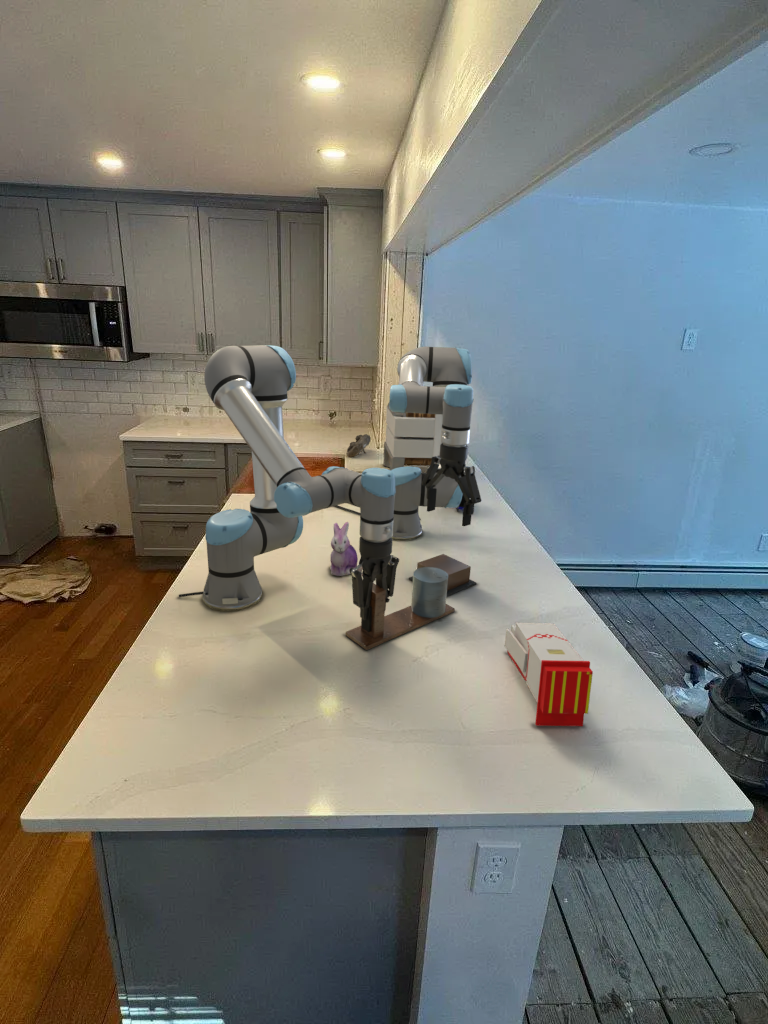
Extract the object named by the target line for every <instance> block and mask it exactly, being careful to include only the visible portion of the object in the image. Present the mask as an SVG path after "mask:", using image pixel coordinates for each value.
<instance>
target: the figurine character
mask: <svg viewBox="0 0 768 1024" xmlns="http://www.w3.org/2000/svg"><path fill="white" fill-rule="evenodd" d="M464 503H467V502H466V500H465V498H464V496H463V495H462V499H461V502H460V504H459V506H458V507H456V511H457V512H460V510H463V508H464Z"/></svg>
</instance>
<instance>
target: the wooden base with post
mask: <svg viewBox="0 0 768 1024" xmlns="http://www.w3.org/2000/svg"><path fill="white" fill-rule="evenodd" d="M412 576H413V581H412V586H411V598H410V599H411V601H410V605H408V606H406V607H404V608H402V609H399V610H396V611H394V612H391V613H389V614H387V615H386V614H385V613H386V610H385V595H386V590H384V589H383V588H381V587H379V586H378V585H376V583H374V582H373V587H372V594H371V600H370V606H371V607H372V623H371V632H367V631H366V630H365V629H363V628H362V618H361V617H360V619H361V620H360V626H357V627H354V628H352V629H349V630H347V631H345V636H346V637H347V638H349V639H350V640H351V641H352V642H354V643H355V644H357V645H358V646H359V647H361V648H362V649H364V650H365V651H368V650H371V649H372V648H374V647H377V646H380V645H382V644H384V643H386V642H388V641H390V640H393V639H395V638H398V637H400V636H403V635H404V634H406V633H407V634H408V633H410V632H411V631H413V630H416V629H418V628H421V627H423V626H425V625H427V624H430V623H432V622H434V621H437V620H439V619H441V618H443V617H446V616H447V615H451V614H453V613H454V612H455V607H453V606H452V605H449V604H448V603H447V597H448V596H447V585H448V574H447V573H446V572H445V571H443V570H441V569H438V568H433V567H423V568H419V569H417V568H416V569H415V570H413V573H412ZM446 596H447V597H446Z"/></svg>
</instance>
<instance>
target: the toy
mask: <svg viewBox="0 0 768 1024" xmlns="http://www.w3.org/2000/svg"><path fill="white" fill-rule="evenodd" d="M503 645H504V647H505V649H506V650H507V655H508V656H509V658H510V659H511V662H513V664H514V666H515V667H516V669H517V670H518V672H519V673H520V675H521V676H522V679H523V680H524V681H525V683H526V686H527V687H528V689H529V690H530V693H531V694H532V696H533V698H534V700H535V701H536V703H537V704H536V714H535V722H534V723H535V726H537V727H541V726H542V727H583V726H584V719H585V715H586V714H587V715H588V714H589V706H590V705H589V704H590V699H591V691H592V683H593V682H592V681H593V674H594V673H593V672H594V671H593V670H592V669H591V668H590V667H591V661H590V660H584V659H583V658H582V657H581V655H580V654H579V653H578V651H577V650H576V649H575V648H574V647H573V645H572V644H571V643H570V642H569V640H568V639H567V638H566V636H564V633H562V632H561V630H560V629H559V628H558V627H557V625H556V624H555V623H553V622H515V624H511V625H510V628H506V630H505V638H504V644H503Z"/></svg>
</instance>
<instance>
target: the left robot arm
mask: <svg viewBox="0 0 768 1024" xmlns="http://www.w3.org/2000/svg"><path fill="white" fill-rule="evenodd" d="M203 375H204V379H203V380H204V386H205V389H206V392H207V394H208V396H209V398H210V400H211V401H212V404H214V406H215V408H217V409H218V410H220V411H224V412H225V414H226V416H227V418H228V419H229V420H230V422H231V423H232V424H233V426H234V427H235V429H236V430H237V432H238V433H239V435H240V436H241V438H242V439H243V440H244V442H245V444H246V445H247V446H248V448H249V449H250V451H251V462H252V474H253V475H252V476H253V487H254V488H253V489H254V497H253V498H252V499H251V500H250V501H249V510H248V509H244V508H233V509H230V508H229V509H225V510H222V511H219V512H216V513H215V514H213V515H211V516H210V517H209V519H208V520H207V521H206V524H205V535H204V536H205V543H206V556H207V569H208V574H207V577H206V580H205V584H204V587H203V590H202V591H195V592H188V593H181V594H178V598H185V597H191V596H199V595H202V600H203V603H204V605H205V606H206V607H208V608H210V609H213V610H215V611H216V610H217V611H220V612H221V611H222V612H234V611H240V610H241V611H242V610H244V609H248V608H251V607H253V606H255V605H256V604H258V603H259V602H260V601H261V599H262V598H263V589H262V585H261V583H260V580H259V578H258V575H257V572H256V570H255V557H258V556H261V555H263V554H266V553H269V552H272V551H275V550H278V549H284V548H286V547H288V546H289V545H292V544H294V543H296V542H297V541H298V540H299V539H300V538H301V536H302V533H303V530H304V518H303V517H305V516H307V515H309V514H311V513H315V512H318V511H322V510H325V509H329V508H333V507H335V506H336V505H338V506H340V505H343V504H348V505H351V506H354V507H357V508H359V509H360V510H359V513H360V515H359V516H360V517H359V536H360V537H359V541H358V543H359V544H358V545H359V546H358V551H359V555H360V558H359V561H358V564H357V567H355V568H350V570H349V572H350V574H349V575H350V576H351V588H352V604H353V605H354V606H356V607H358V608H359V617H360V619H361V618H362V628H363V629H365V630H366V631H367V632H371V623H372V607H371V606H370V600H371V594H372V587H373V583H374V582H375V584H376V585H378V586H379V587H381V588H383V589H384V590H386V595H385V611H386V609H387V604H388V603H389V602H390V598H391V597H393V596H394V592H395V584H396V577H397V568H398V565H399V564H400V563H399V562H400V558H399V557H397V556H395V555H393V554H392V553H393V541H394V539H392V538H391V537H392V535H393V518H394V516H393V514H394V501H395V493H396V489H395V475H394V473H393V472H392V471H390V469H388V468H381V467H369V468H366V469H364V470H363V471H362V472H361V473H360V472H358V471H355V470H352V469H348V468H347V467H344V466H336V465H332V466H329V467H327V468H326V470H324V471H322V473H321V474H320V475H315V476H311V475H310V473H309V471H308V470H307V469H306V468H305V466H304V464H303V463H302V462H301V460H299V458H298V457H297V455H296V454H295V452H294V451H293V449H292V448H291V446H290V445H289V443H288V442H287V441H286V439H285V434H284V433H285V432H284V416H283V406H284V404H285V403H287V401H288V399H289V398H288V392H289V391H290V390H292V389H293V388H294V386H295V383H296V381H297V371H296V366H295V363H294V361H293V359H292V357H291V355H289V353H288V352H287V350H285V348H283V347H281V346H278V345H268V344H261V345H260V344H258V345H257V344H255V345H227V346H223V347H221V348H219V349H217V350H216V351H215V352H214V353H213V354H212V355H211V356H209V358H208V361H207V362H206V365H205V368H204V374H203ZM389 597H390V598H389Z"/></svg>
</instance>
